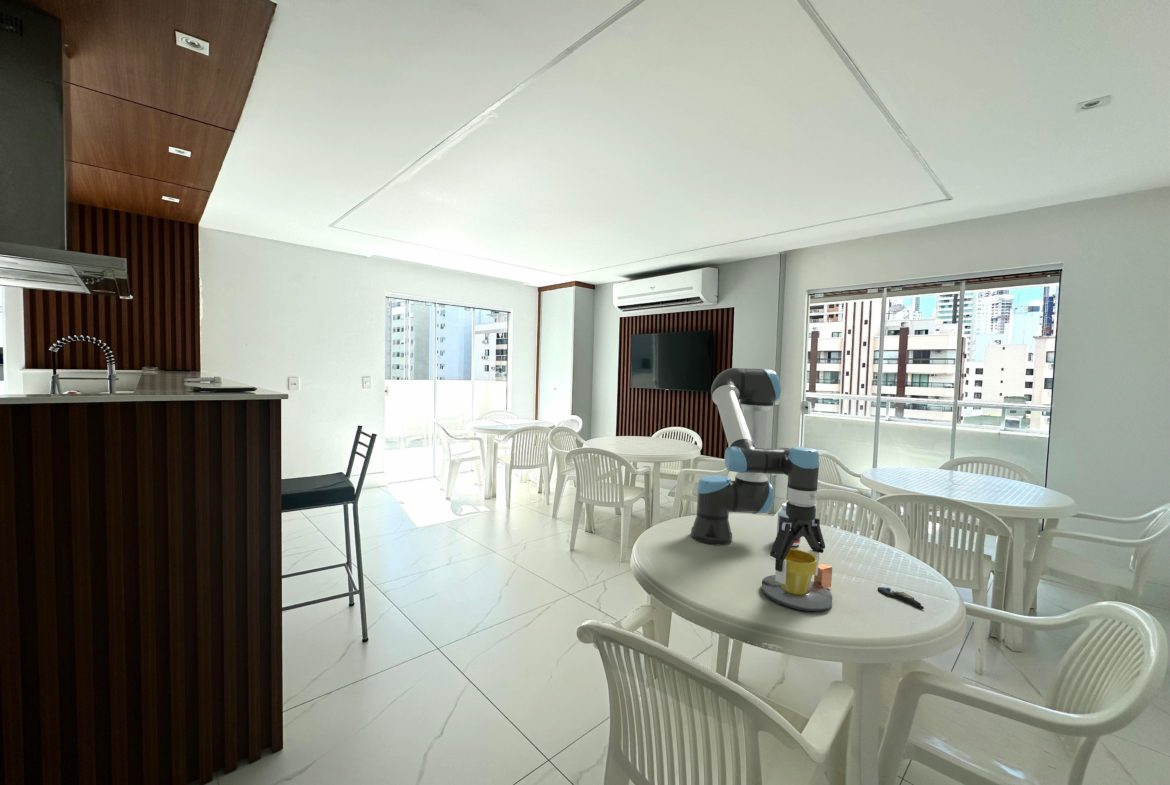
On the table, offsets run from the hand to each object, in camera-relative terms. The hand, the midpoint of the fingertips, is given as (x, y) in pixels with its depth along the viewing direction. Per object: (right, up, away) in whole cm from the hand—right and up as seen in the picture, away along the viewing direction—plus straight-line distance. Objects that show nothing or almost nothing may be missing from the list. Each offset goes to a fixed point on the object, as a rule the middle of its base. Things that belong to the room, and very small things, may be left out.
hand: (796, 577), depth 126 cm
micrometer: (+30, -7, +1) cm, 31 cm away
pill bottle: (+16, -5, +42) cm, 45 cm away
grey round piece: (+2, -5, +1) cm, 5 cm away
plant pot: (-1, -3, 0) cm, 3 cm away
